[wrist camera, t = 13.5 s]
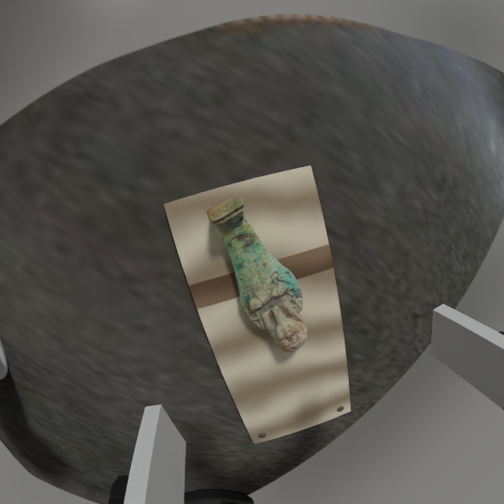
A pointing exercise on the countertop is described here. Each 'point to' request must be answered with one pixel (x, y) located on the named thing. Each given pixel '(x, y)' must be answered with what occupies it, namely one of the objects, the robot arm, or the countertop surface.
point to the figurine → (261, 278)
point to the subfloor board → (238, 323)
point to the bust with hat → (3, 362)
